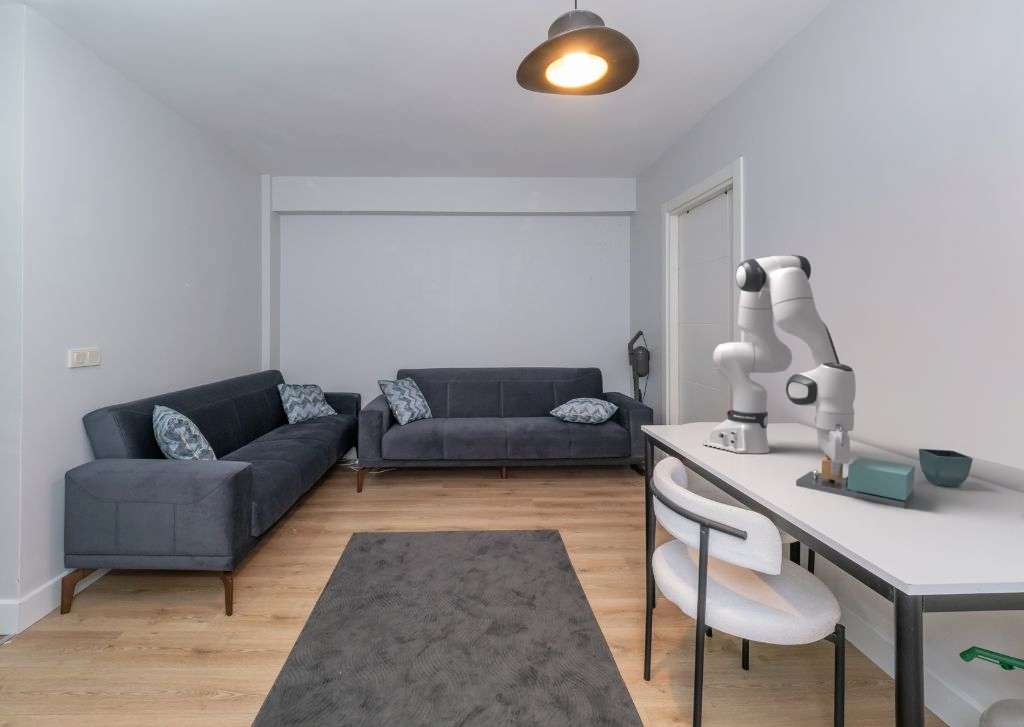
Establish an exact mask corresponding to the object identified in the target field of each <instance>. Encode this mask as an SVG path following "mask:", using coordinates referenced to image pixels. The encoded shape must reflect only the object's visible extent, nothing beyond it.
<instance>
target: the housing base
mask: <svg viewBox="0 0 1024 727" xmlns="http://www.w3.org/2000/svg"><path fill="white" fill-rule="evenodd" d="M821 473H822V472H819V470H813V471H809V472H807V473H805V474H804V475H802V476H800V477H799V478H797V479H796V481H795V486H797V487H802V488H805V489H806V488H807V489H810V490H816V491H821V492H826V493H829V494H835V495H839V496H845V497H850V498H854V499H858V500H859V499H860V500H863V501H868V502H872V503H878V504H882V505H888V506H890V507H891V506H892V507H896V508H901V509H905V508H906V507H907V505H908V504H909V503H910V501H911V500H912V499H913V497H914V493H915V492H914V490H913V491H912V492H911V494H910V495H909V496H908V498H907V499H906V500H900V499H895V498H890V497H885V496H880V495H875V494H870V493H865V492H860V491H855V490H850V489H847V487H848V476H846V477H843V476H842V480H841V481H838V480H832V479H826V478H821Z"/></svg>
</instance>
